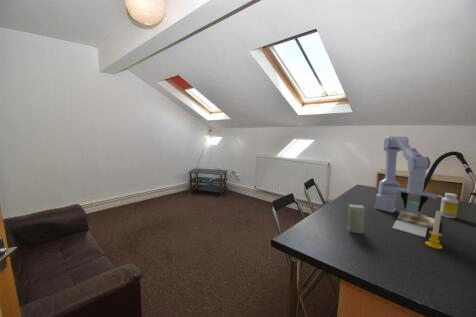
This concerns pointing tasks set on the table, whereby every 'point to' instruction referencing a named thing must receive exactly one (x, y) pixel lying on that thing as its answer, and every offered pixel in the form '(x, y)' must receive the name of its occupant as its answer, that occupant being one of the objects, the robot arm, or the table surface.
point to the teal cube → (412, 207)
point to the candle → (435, 233)
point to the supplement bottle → (449, 205)
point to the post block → (416, 219)
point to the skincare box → (355, 218)
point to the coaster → (410, 228)
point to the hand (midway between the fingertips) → (412, 209)
